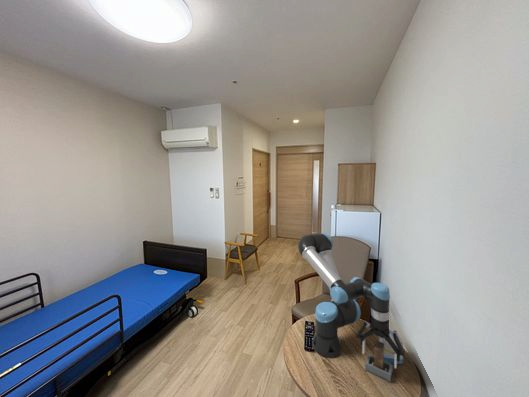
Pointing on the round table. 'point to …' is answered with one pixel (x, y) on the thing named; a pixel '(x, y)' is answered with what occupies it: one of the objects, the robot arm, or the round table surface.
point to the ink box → (391, 350)
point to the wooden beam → (379, 355)
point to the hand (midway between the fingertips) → (379, 358)
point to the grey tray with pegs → (384, 373)
